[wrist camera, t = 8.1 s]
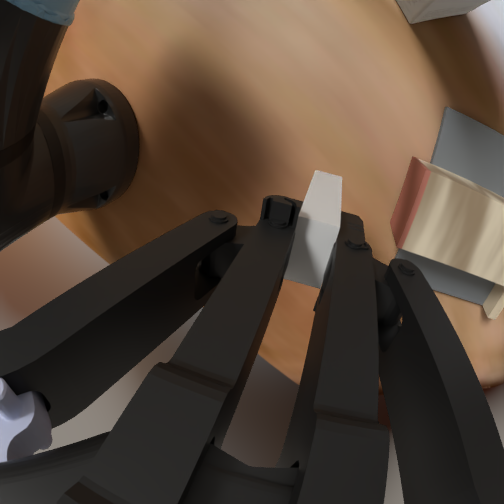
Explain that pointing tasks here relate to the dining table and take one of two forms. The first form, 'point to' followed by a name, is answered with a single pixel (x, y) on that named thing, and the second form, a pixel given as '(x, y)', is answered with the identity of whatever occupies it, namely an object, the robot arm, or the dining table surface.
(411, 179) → the beech block
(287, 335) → the dining table surface
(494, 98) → the dining table surface
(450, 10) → the skincare box
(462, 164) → the slate mat
